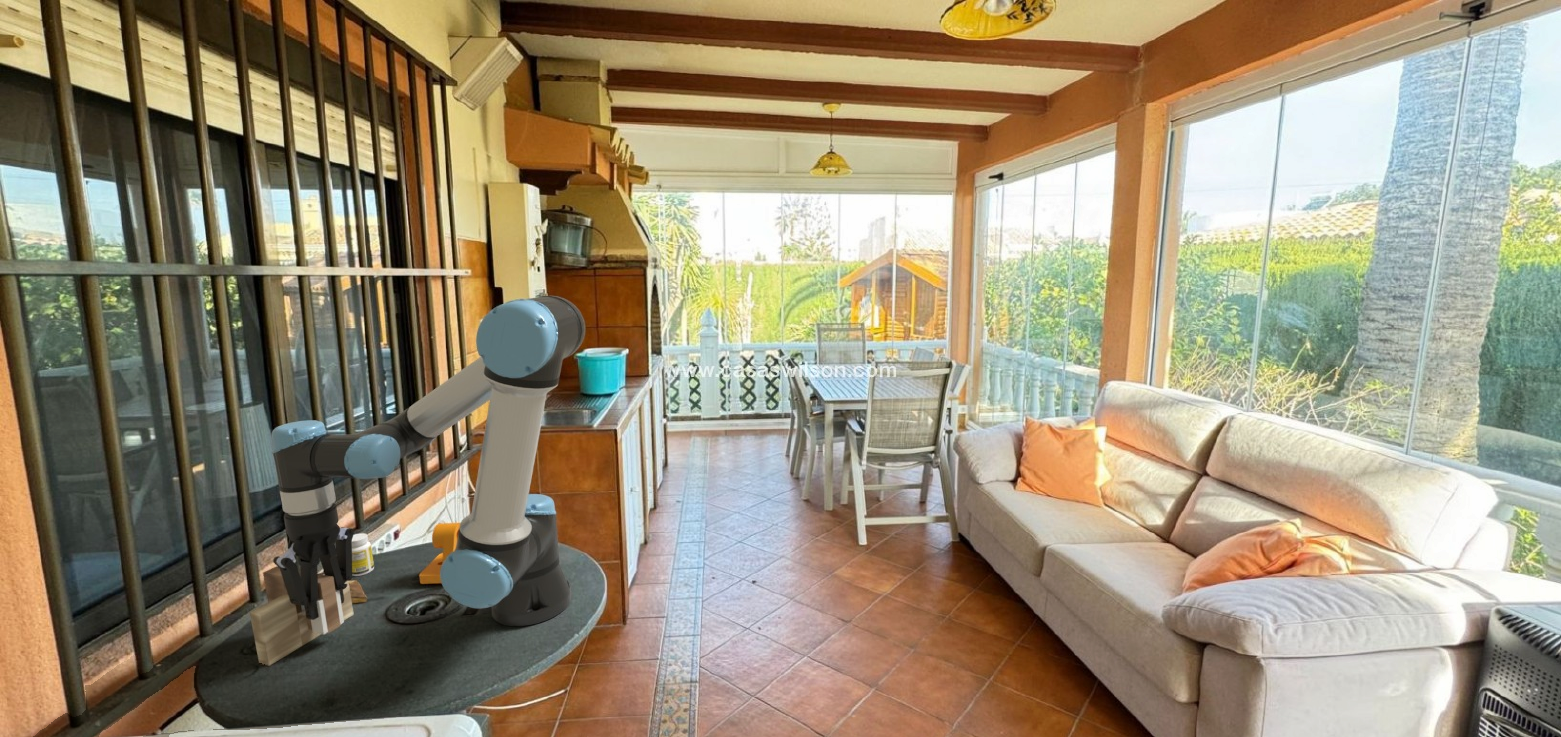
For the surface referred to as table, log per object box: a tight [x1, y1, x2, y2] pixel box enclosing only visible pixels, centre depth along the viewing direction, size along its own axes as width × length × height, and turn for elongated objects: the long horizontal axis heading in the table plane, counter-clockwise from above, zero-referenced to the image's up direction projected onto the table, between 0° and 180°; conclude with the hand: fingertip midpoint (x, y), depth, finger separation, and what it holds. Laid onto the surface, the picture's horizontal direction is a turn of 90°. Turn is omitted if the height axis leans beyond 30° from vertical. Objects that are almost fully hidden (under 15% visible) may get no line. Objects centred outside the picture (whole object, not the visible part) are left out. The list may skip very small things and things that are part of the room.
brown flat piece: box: [349, 580, 368, 604], centre depth 128 cm, size 11×8×2 cm
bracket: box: [418, 522, 461, 585], centre depth 137 cm, size 11×7×12 cm, turn 4°
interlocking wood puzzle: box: [249, 573, 355, 667], centre depth 115 cm, size 2×16×10 cm, turn 165°
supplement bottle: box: [352, 533, 375, 577], centre depth 139 cm, size 5×5×8 cm
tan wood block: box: [262, 565, 342, 634], centre depth 114 cm, size 14×2×10 cm, turn 75°
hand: (328, 626), depth 113 cm, fingers closed on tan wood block, 2 cm apart
